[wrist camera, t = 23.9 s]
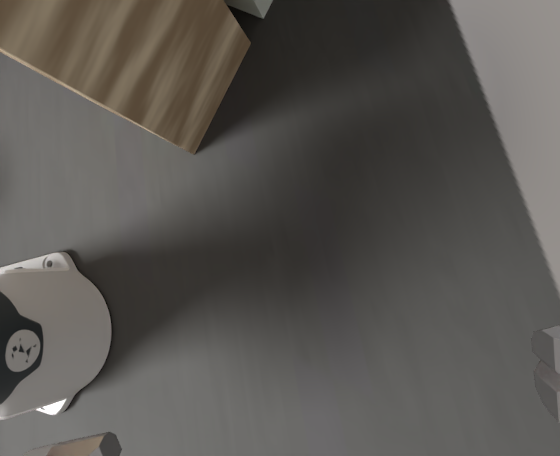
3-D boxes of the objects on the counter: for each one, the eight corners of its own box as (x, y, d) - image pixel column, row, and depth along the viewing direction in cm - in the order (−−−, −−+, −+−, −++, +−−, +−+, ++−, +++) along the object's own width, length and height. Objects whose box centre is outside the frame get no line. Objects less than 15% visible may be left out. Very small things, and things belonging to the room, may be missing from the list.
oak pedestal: (251, 43, 48) (92, -203, 23) (194, 154, 48) (-21, 36, 23) (142, -2, 52) (-92, -251, 27) (91, 101, 53) (-184, -48, 28)
